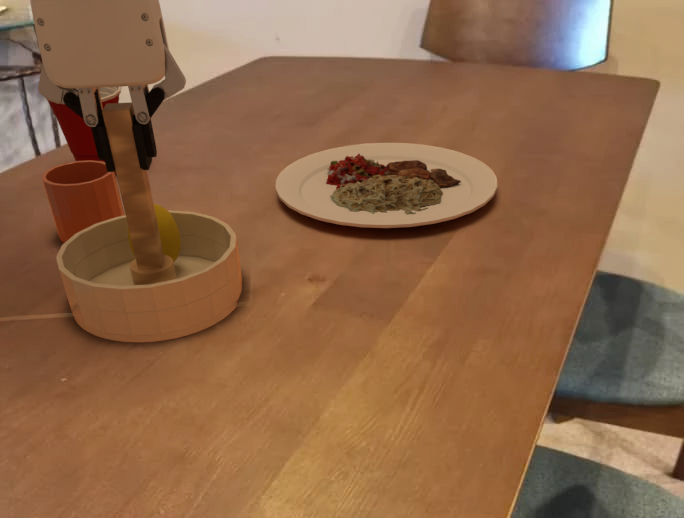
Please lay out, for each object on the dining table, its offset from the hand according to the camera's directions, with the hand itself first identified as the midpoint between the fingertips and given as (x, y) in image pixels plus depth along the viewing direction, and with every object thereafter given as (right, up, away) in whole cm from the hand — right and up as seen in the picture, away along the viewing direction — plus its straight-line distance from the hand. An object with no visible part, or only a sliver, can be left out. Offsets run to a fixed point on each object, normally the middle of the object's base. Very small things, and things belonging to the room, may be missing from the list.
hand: (130, 164), depth 68 cm
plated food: (+26, +9, +32) cm, 42 cm away
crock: (-11, 0, +24) cm, 26 cm away
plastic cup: (-16, +15, +41) cm, 46 cm away
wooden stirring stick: (0, -9, +8) cm, 12 cm away
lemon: (-1, -7, +14) cm, 16 cm away
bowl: (0, -10, +11) cm, 15 cm away
